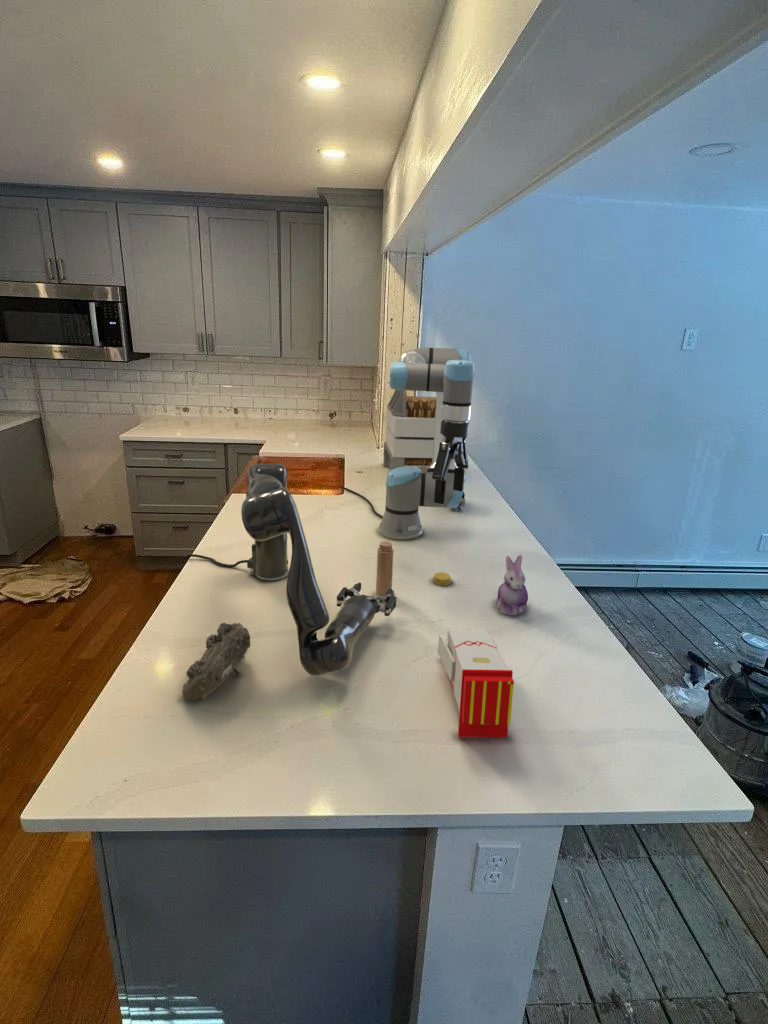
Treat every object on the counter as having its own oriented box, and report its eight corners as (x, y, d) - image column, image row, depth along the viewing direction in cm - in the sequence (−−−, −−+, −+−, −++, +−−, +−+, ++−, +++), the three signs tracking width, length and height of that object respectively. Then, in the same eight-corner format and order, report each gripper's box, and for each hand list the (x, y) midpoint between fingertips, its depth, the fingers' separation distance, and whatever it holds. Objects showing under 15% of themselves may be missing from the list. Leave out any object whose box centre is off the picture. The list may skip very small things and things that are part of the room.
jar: (372, 596, 156) (374, 544, 151) (380, 590, 159) (382, 539, 154) (386, 600, 154) (388, 548, 149) (394, 594, 157) (396, 543, 152)
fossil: (203, 625, 130) (250, 595, 125) (232, 653, 133) (279, 625, 128) (160, 694, 111) (214, 662, 106) (195, 725, 113) (249, 695, 108)
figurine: (510, 620, 147) (517, 567, 142) (486, 602, 155) (492, 552, 150) (538, 612, 151) (545, 561, 146) (513, 595, 159) (519, 546, 154)
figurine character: (465, 515, 224) (460, 499, 237) (467, 498, 221) (462, 483, 234) (448, 515, 224) (444, 499, 237) (450, 498, 220) (445, 482, 234)
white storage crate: (382, 463, 289) (386, 382, 275) (445, 464, 293) (451, 384, 279) (390, 482, 257) (394, 392, 243) (460, 483, 261) (468, 394, 247)
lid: (453, 581, 167) (454, 575, 166) (444, 587, 163) (445, 581, 162) (439, 576, 169) (439, 570, 169) (430, 582, 166) (430, 576, 165)
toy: (488, 613, 130) (523, 677, 101) (484, 667, 133) (517, 744, 104) (435, 612, 130) (455, 676, 101) (432, 666, 133) (451, 743, 103)
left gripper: (383, 609, 129) (402, 580, 144) (325, 598, 133) (350, 570, 148) (381, 638, 132) (400, 606, 147) (325, 626, 136) (349, 596, 150)
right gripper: (459, 412, 162) (453, 483, 170) (422, 425, 142) (417, 506, 149) (484, 415, 159) (476, 487, 166) (450, 429, 138) (443, 511, 146)
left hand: (375, 588), depth 147 cm, fingers open, 8 cm apart
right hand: (448, 496), depth 158 cm, fingers open, 13 cm apart
